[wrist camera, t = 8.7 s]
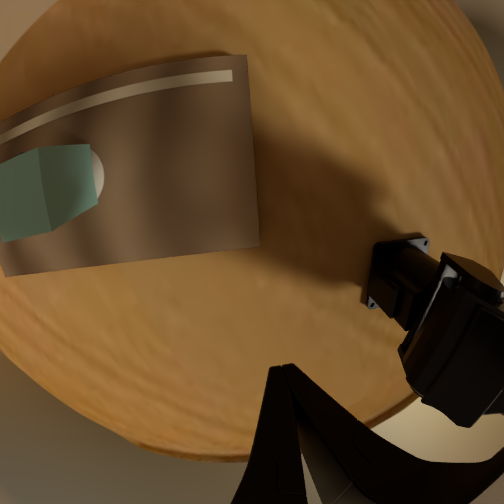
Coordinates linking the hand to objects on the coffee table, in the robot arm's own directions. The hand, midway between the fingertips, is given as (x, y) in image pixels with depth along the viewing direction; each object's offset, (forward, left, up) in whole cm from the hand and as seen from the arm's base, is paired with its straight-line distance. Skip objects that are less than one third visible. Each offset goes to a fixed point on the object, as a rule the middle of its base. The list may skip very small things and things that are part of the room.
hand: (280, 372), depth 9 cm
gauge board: (+11, -7, -12) cm, 17 cm away
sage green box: (+11, -7, -11) cm, 17 cm away
